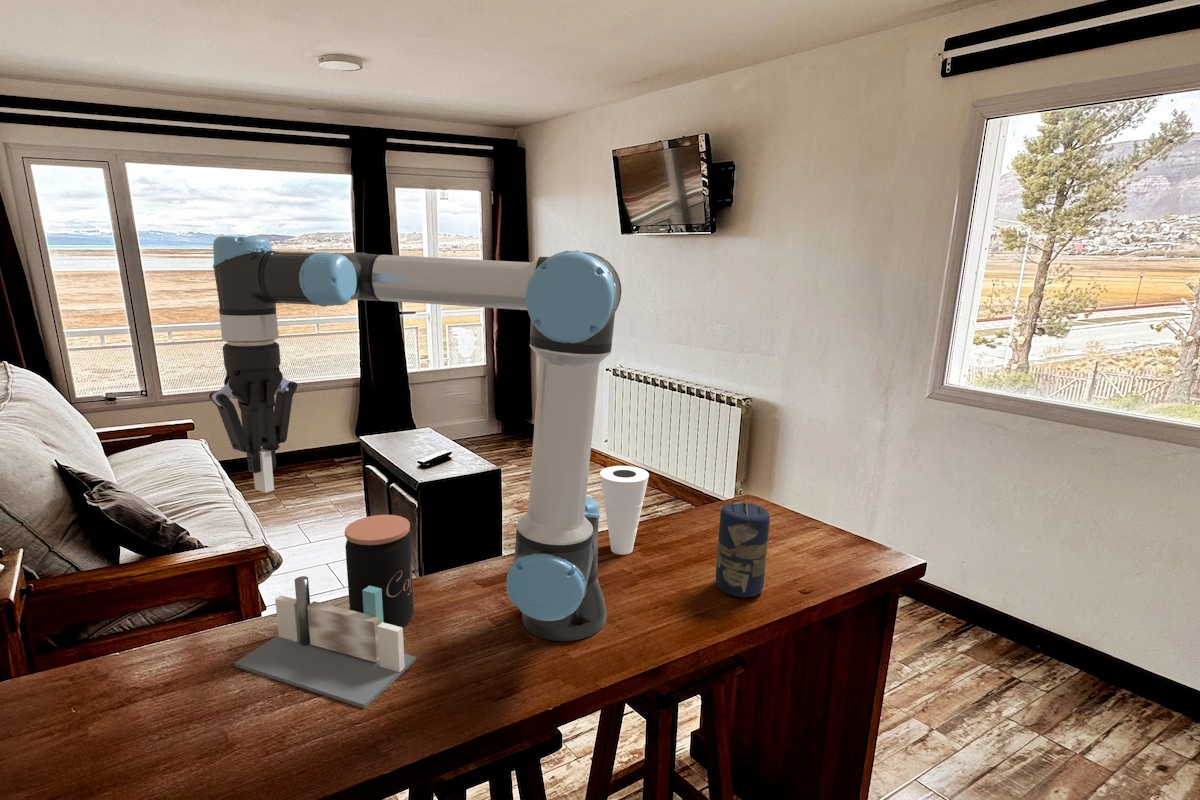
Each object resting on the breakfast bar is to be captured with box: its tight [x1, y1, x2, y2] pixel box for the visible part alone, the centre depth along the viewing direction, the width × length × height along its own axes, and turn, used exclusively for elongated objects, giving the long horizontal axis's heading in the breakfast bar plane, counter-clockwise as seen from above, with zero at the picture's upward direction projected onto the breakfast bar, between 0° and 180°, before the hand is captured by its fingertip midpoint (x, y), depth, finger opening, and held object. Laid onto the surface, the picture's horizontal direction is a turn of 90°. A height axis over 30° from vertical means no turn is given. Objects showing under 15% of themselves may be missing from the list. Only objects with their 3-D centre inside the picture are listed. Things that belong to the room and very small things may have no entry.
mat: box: [234, 633, 417, 709], centre depth 100 cm, size 25×12×1 cm, turn 70°
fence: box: [274, 594, 405, 672], centre depth 102 cm, size 24×1×7 cm, turn 70°
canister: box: [714, 501, 771, 598], centre depth 125 cm, size 10×10×18 cm
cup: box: [599, 465, 650, 556], centre depth 140 cm, size 11×11×18 cm
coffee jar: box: [344, 514, 415, 629], centre depth 110 cm, size 11×11×18 cm
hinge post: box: [294, 575, 311, 646], centre depth 104 cm, size 2×2×12 cm
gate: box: [307, 601, 381, 662], centre depth 101 cm, size 13×2×7 cm, turn 71°
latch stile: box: [362, 586, 383, 623], centre depth 101 cm, size 2×2×12 cm
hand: (264, 489), depth 101 cm, fingers closed
